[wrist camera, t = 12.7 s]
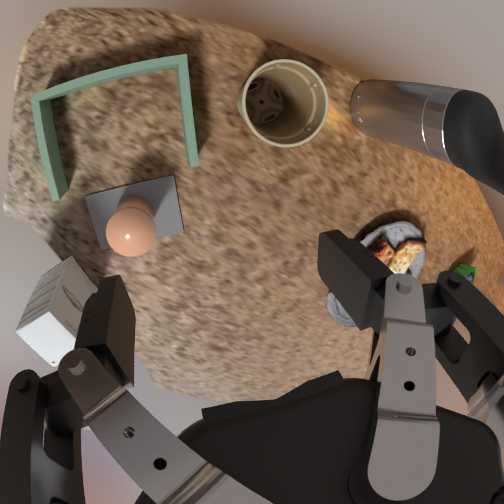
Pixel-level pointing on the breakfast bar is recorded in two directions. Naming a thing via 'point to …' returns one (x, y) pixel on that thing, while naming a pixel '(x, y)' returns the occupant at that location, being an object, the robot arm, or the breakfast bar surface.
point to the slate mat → (153, 190)
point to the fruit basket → (466, 272)
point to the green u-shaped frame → (43, 98)
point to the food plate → (389, 256)
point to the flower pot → (284, 103)
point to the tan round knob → (132, 226)
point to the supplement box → (56, 311)
